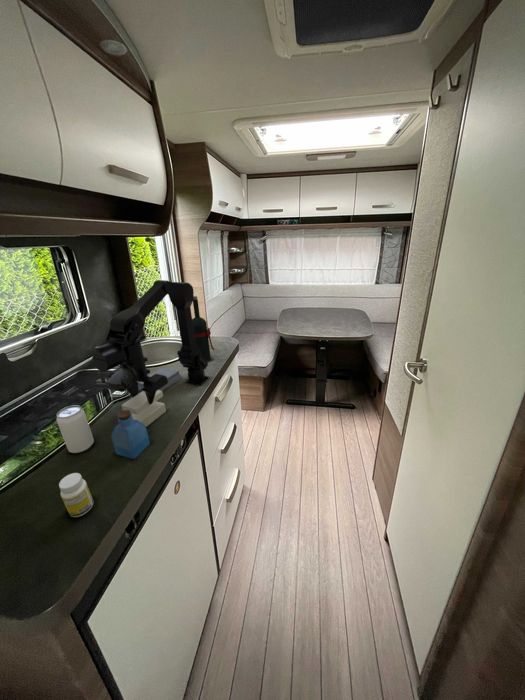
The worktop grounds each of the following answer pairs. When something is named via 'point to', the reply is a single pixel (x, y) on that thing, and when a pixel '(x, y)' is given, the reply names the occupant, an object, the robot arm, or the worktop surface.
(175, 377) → the grey books
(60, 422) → the can
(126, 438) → the perfume bottle
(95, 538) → the worktop surface
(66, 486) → the supplement bottle
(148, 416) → the white books
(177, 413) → the worktop surface
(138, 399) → the white book
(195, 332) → the wine bottle
